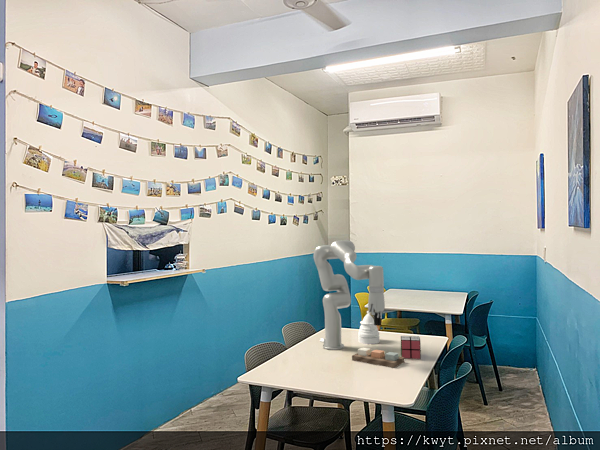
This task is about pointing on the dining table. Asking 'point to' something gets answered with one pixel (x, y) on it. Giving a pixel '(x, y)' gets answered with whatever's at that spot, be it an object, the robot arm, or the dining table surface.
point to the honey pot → (368, 331)
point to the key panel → (378, 360)
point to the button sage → (391, 356)
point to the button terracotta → (377, 354)
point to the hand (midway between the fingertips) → (377, 325)
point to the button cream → (364, 351)
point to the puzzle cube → (410, 347)
